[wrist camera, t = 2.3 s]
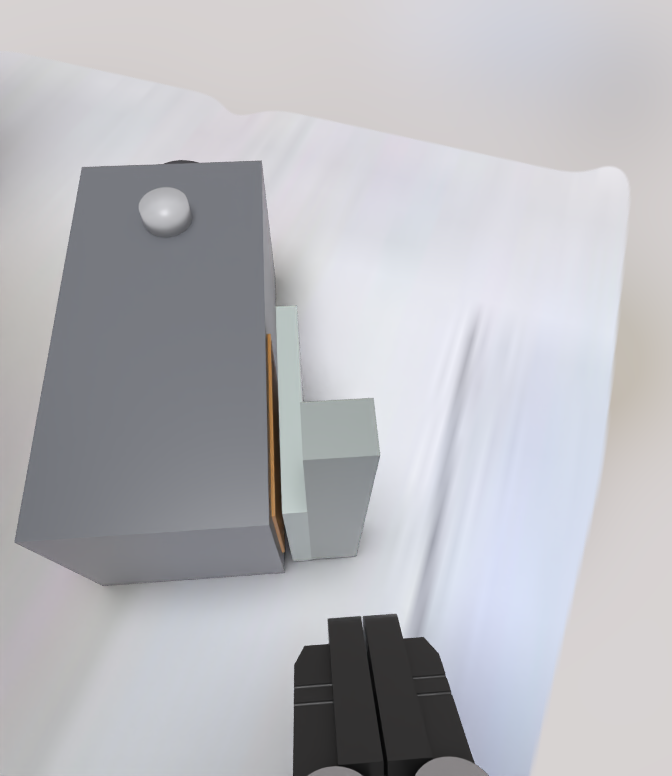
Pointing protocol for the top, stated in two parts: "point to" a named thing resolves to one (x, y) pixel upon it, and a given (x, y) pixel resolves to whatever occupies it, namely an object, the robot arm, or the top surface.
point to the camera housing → (161, 382)
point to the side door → (321, 458)
